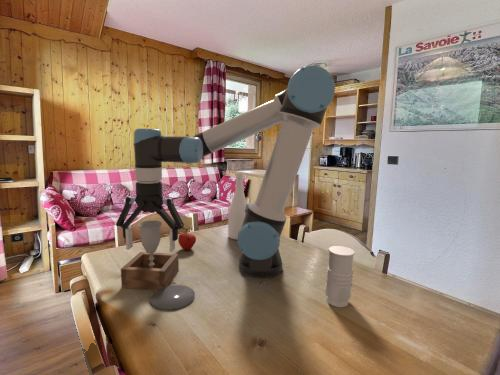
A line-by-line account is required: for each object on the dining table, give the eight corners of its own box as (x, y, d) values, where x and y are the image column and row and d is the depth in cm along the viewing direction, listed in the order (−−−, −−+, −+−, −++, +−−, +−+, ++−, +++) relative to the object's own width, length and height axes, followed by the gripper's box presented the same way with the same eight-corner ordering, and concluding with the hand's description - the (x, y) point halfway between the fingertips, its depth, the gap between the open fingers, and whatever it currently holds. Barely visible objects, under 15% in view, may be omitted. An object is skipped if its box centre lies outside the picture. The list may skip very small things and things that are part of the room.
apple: (187, 245, 120) (187, 222, 118) (199, 249, 116) (199, 225, 114) (173, 250, 113) (172, 226, 112) (184, 254, 110) (184, 229, 108)
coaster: (199, 287, 85) (199, 286, 85) (188, 311, 74) (188, 309, 73) (159, 285, 86) (159, 283, 86) (142, 308, 74) (142, 306, 74)
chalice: (155, 285, 86) (154, 228, 83) (135, 283, 87) (133, 226, 84) (167, 274, 93) (166, 221, 90) (148, 272, 94) (146, 219, 91)
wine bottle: (225, 239, 128) (226, 172, 123) (230, 232, 137) (231, 170, 132) (246, 241, 126) (248, 173, 121) (250, 234, 135) (252, 171, 130)
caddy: (178, 270, 96) (178, 253, 95) (165, 290, 83) (164, 271, 82) (140, 268, 97) (140, 251, 96) (121, 288, 84) (120, 269, 83)
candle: (319, 297, 82) (323, 247, 80) (338, 292, 85) (342, 244, 82) (335, 310, 76) (339, 256, 73) (355, 305, 79) (360, 253, 76)
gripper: (193, 181, 88) (193, 246, 92) (114, 178, 89) (118, 242, 93) (186, 184, 81) (187, 255, 84) (101, 181, 82) (105, 251, 86)
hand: (150, 249), depth 89 cm, fingers open, 13 cm apart
